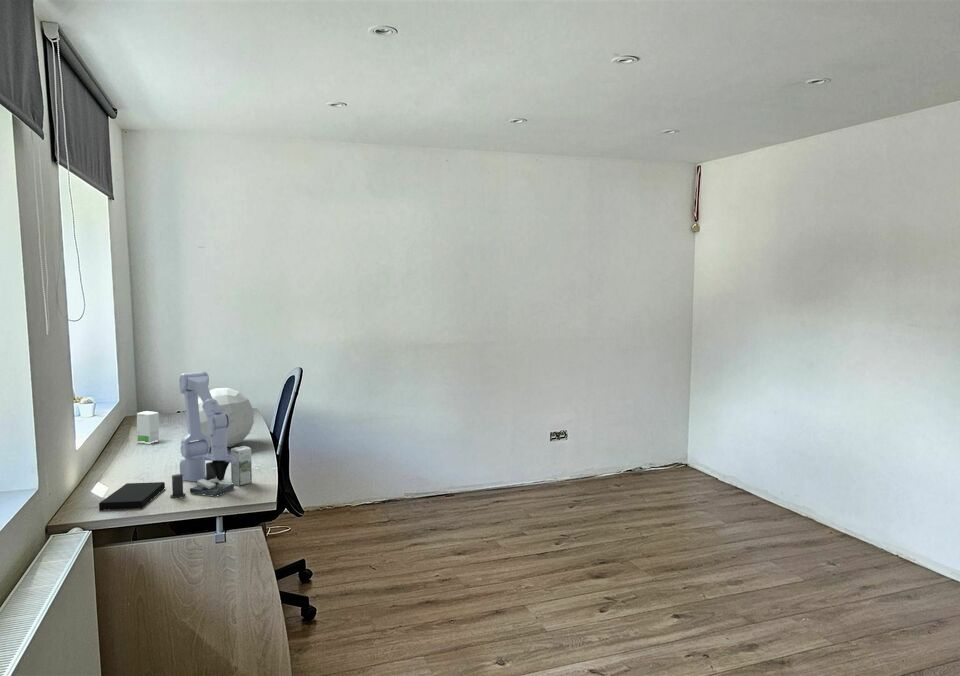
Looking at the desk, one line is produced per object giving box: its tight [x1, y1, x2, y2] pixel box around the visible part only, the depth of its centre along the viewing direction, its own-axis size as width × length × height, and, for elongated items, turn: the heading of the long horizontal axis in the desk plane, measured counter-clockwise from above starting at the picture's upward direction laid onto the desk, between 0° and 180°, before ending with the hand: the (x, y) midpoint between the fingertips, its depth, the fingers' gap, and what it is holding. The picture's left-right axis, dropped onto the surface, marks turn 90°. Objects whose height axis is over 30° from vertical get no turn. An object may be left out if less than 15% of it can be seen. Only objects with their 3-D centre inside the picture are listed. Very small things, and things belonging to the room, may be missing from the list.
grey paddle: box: [196, 478, 216, 489], centre depth 248 cm, size 6×3×1 cm, turn 72°
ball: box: [198, 387, 255, 448], centre depth 319 cm, size 30×30×30 cm
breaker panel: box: [189, 481, 235, 497], centre depth 250 cm, size 12×10×3 cm
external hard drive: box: [98, 481, 166, 511], centre depth 241 cm, size 14×23×3 cm, turn 7°
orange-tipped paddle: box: [208, 478, 225, 483], centre depth 252 cm, size 6×3×1 cm, turn 73°
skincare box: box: [136, 410, 160, 442], centre depth 329 cm, size 8×7×16 cm
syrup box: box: [230, 445, 253, 487], centre depth 260 cm, size 6×6×14 cm
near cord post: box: [169, 473, 187, 499], centre depth 244 cm, size 5×5×8 cm
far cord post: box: [205, 461, 216, 481], centre depth 261 cm, size 5×5×8 cm
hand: (220, 479), depth 251 cm, fingers closed, pressing on orange-tipped paddle
